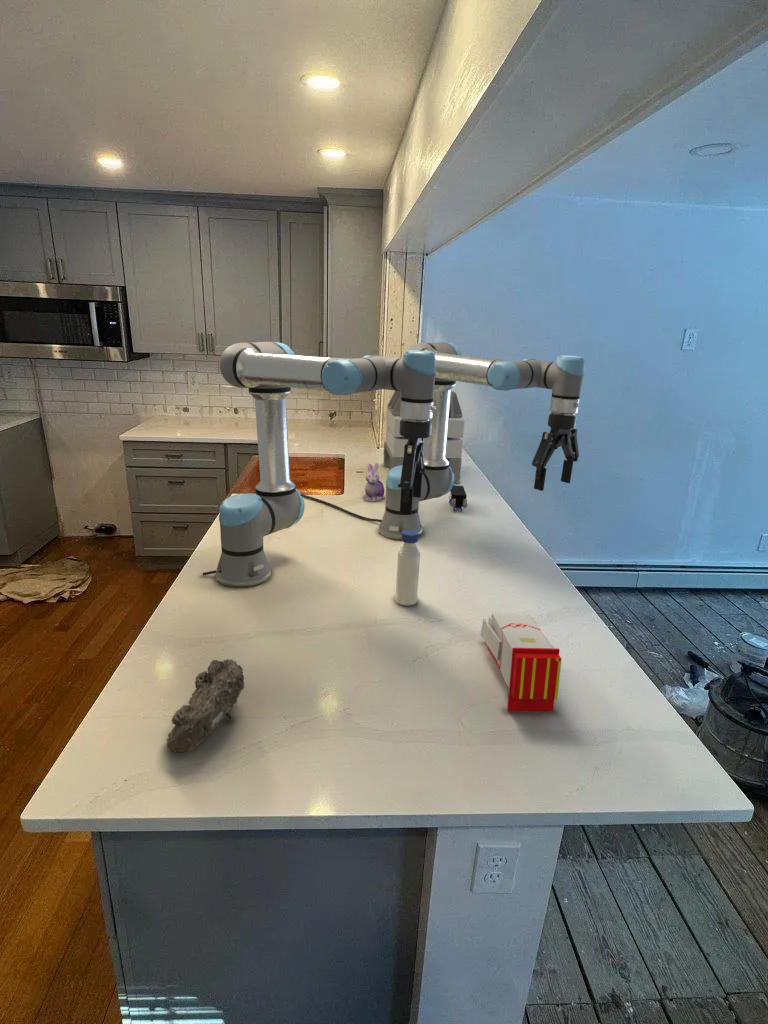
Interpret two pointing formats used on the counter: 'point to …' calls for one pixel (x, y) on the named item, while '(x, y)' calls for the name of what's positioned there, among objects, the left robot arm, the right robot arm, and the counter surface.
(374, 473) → the figurine
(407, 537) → the cap
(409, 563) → the bottle
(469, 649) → the counter surface
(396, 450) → the grey slatted crate
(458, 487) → the figurine character
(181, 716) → the fossil
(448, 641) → the counter surface
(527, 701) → the toy
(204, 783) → the counter surface
